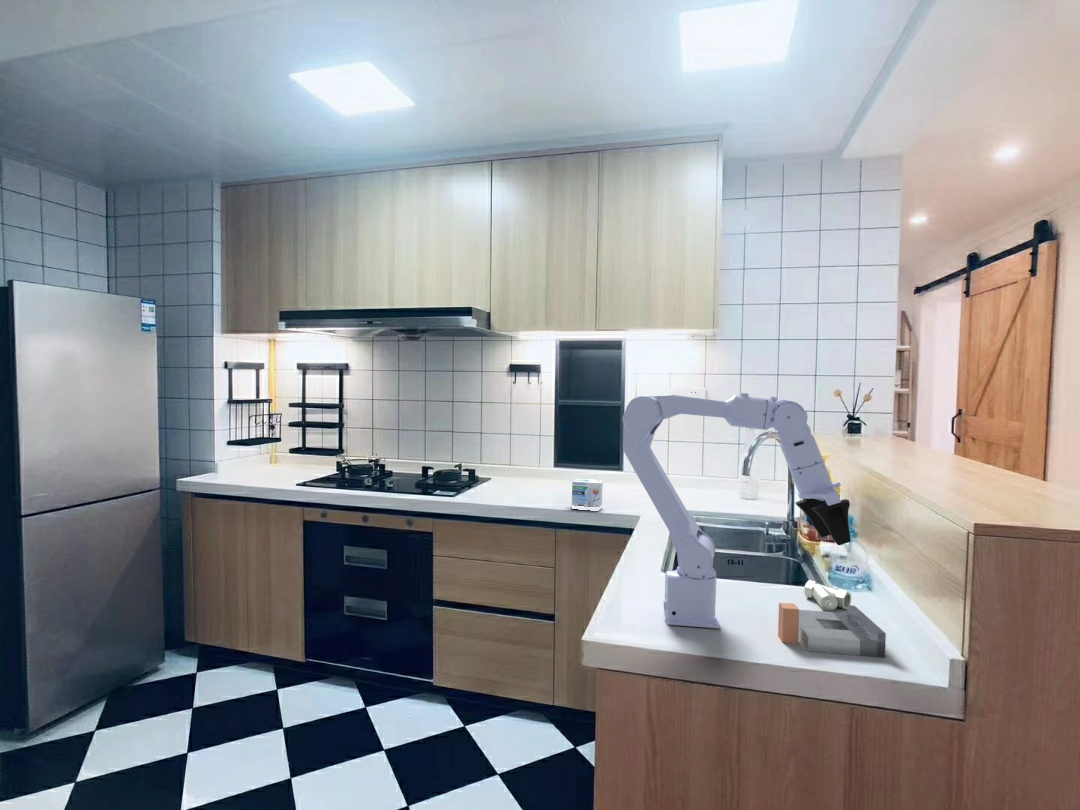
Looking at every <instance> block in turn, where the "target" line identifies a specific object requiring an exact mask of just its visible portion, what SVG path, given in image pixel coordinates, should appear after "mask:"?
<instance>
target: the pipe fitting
mask: <svg viewBox="0 0 1080 810" xmlns="http://www.w3.org/2000/svg"><path fill="white" fill-rule="evenodd" d="M803 590H804V591H803V592H804V596H805V597H807V598H809V599H813V600H815V601H816V602H817V604H818V605H819V606H820V608H821V609H822V610H823V611H829V612H834V611H835V610H836V609H838V608H840V609H843V610H848V609H847V608H848V605H851V604H852V595H851V592H849V591H847V590H844V589H838V588H834V587H831V586H828V585H825V584H824V585H823V584H821V583H818V582H816V581H814V580H811V579H809V580H808V581H807V582H806V583H805V585H804V589H803ZM837 607H838V608H837ZM831 610H832V611H831Z"/></svg>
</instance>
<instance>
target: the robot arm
mask: <svg viewBox="0 0 1080 810" xmlns="http://www.w3.org/2000/svg"><path fill="white" fill-rule="evenodd" d="M679 415H690V416H700V417H701V416H702V417H711V418H712V417H713V418H722V419H725V420H726V422H727V423H728V425H729V426H731V427H738V428H747V429H754V430H762V431H763V430H764V431H768V430H769V429H771V428H773V430H775V431H777V432H776V433H777V437H778V438H779V441H780V448H781V451H782V454H783V456H784V458H785V462H786V464H787V467H788V469H789V471H790V475H791V477H792V480H793V483H794V484H795V488H796V491H797V496H798V498H799V499H801V500H798V501H795V505H796V506H797V507H798V508H799V509H800V510H802V512H803V513H804V514H805V516H806V517H807V518H808V519H809V521H810V523H811V524H812V525H813V527H814V529H815V530H816V532H817V534H818V535H819V536H820V537H821V538H824V537H828V536H831V538H832V539H833V541H834V542H835V544H836V545H837V546H842V545H845V544H848V543H850V542H852V541H851V532H850V526H849V510H850V506H851V505H850V504H851V503H850V500H849V499H846V498H843V499H842V500H841V498H840V495H839V493H838V490H837V489H836V488H838V487H841V485H842V484H841V483H840V482H839V481H832V479H831V476H830V474H829V471H828V469H827V467H826V465H825V461H824V459H823V456H822V454H821V451H820V449H819V446H818V444H817V441H816V439H815V437H814V435H813V434H812V430H811V427H810V426H809V424H808V416H809V415H808V412H807V411H806V410H805V409H804V407H803V406H802V405H801V404H799V403H798V402H795V401H792V400H786V399H781V400H778V398H777V397H776V396H771V397H770V398H763V397H757V396H756V397H754V396H753V397H752V396H750V394H749V392H748V393H747V392H746V393H745V392H741V394H740V395H736V394H735V395H733V396H732V397H730V398H729V399H728V400H726V401H724V400H723V401H722V400H717V399H716V400H715V399H708V398H700V397H694V396H693V397H692V396H685V395H677V394H668V395H639V396H636V397H633V398H632V399H631V400H630V401H629V403H628V404H627V406H626V409H625V410H624V412H623V415H622V424H623V429H622V430H623V432H622V438H623V439H622V449H623V453H624V454H625V457H626V458H627V460H628V462H629V463H630V465H631V467H632V469H633V470H634V472H635V474H636V476H637V477H638V479H639V481H640V483H641V484H642V486H643V488H644V490H645V491H646V493H647V495H648V497H649V499H650V500H651V502H652V504H653V505H654V507H655V509H656V511H657V512H658V514H659V516H660V517H661V519H662V521H663V522H664V524H665V526H666V528H667V531H668V532H669V535H670V539H671V543H672V545H673V547H674V549H675V553H676V556H677V558H676V559H677V564H678V565H677V567H676V569H674V570H666V571H665V580H664V600H663V610H664V614H665V619H666V623H667V625H669V626H670V625H671V626H683V627H695V628H696V627H698V628H707V629H708V628H709V629H721V624H720V621H719V619H718V616H717V615H716V605H717V604H716V598H717V597H716V596H717V571H716V570H715V568H714V567H713V565H714V557H715V554H716V544H715V542H714V540H713V539H712V538H711V537H710V536H709V535H708V534H706V533H704V531H702V529H701V528H700V526H699V525H698V523H697V522H696V521H695V520H694V519H693V518H692V516H691V515H690V514H689V511H688V510H687V508H686V507H685V505H684V503H683V501H682V500H681V498H680V496H679V494H678V493H677V490H675V488H674V486H673V484H672V482H671V481H670V478H669V477H668V476H667V473H666V472H665V470H664V469H663V467H662V465H661V463H660V462H659V461H658V458H657V456H656V455H655V453H654V451H653V449H652V448H651V446H652V443H653V440H654V436H655V434H656V433H655V432H656V431H657V430H658V428H659V427H660V425H661V424H662V423H663V420H665V419H670V418H674V417H675V416H679Z"/></svg>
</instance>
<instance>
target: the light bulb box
mask: <svg viewBox="0 0 1080 810" xmlns="http://www.w3.org/2000/svg"><path fill="white" fill-rule="evenodd" d="M603 481H604V480H602V479H589V478H588V479H585V478H575V479H574V480H572V484H571V486H572V488H571V506H572V505H574V506H584V507H600V506H601V505H602V506H603Z"/></svg>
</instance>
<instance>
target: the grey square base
mask: <svg viewBox="0 0 1080 810" xmlns="http://www.w3.org/2000/svg"><path fill="white" fill-rule="evenodd" d="M886 634H887V633H886V632H885V631H884V630H883V629H881V627H879V626H878V625H877V624H876V623H875V622H874V621H872V620H871V618H869V617H868V616H867V615H866V614H865V613H863V611H861V610H860V609H859V608H858V607H856V605H851V604H850V605H848V609H847V612H838V611H837V612H835V611H825V610H823V611H821V610H811V609H809V610H807V609H799V633H798V641H800V643H801V644H802V645H803V647H804V648H805V650H806V651H807V652H814V653H815V652H816V653H827V654H838V655H840V654H841V655H850V656H852V655H853V656H861V655H862V657H863V656H865V657H874V658H875V657H876V658H886V638H887V635H886Z"/></svg>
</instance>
